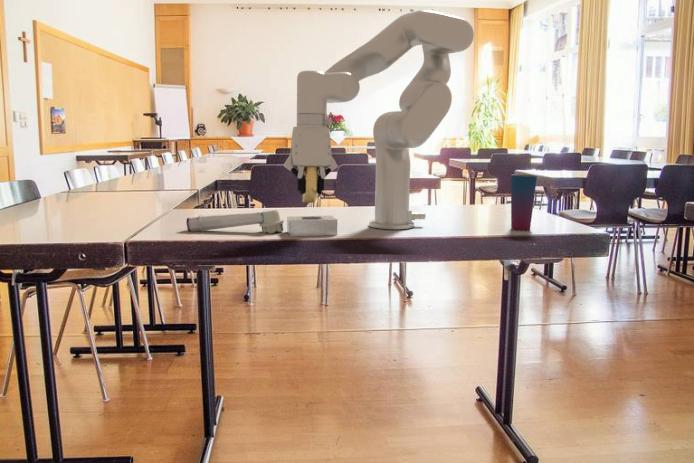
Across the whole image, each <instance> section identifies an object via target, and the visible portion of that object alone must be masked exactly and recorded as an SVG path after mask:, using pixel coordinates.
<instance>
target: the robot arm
mask: <svg viewBox="0 0 694 463" xmlns="http://www.w3.org/2000/svg"><path fill="white" fill-rule="evenodd" d="M474 38H475V33H474V29H473V27H472V25H471V23H470V22H468V20H466V19H465V18H461V17H459V16H455V15H451V14H445V13H443V12H438V11H433V10H430V9H427V10H426V9H421V10H420V9H419V10H416V11H412V12H408V13H404V14H402V15H400V16H399V17H396V19H394V20H393V21H391V23H389V25H387V26H386V27H384V28H383V30H381V31H380V32H378V34H376V35H375V36H373V37H372V38H370V40H368V41H367V42H365V43H364V44H363V45H361V46H359V47H358V48H356V49H355V50H354V51H352V52H351V53H349V54H348V55H346V56H345V57H343V58H341V59H340V60H338V61H337V62H336V63H334V64H333V65H332V66H330V67H329V68H328V69H327V70H326V71H320V70H302V71H300V72H298V74H297V78H296V126H293V128H292V132H291V139H290V140H291V141H290V153H289V156H288V157H287V159H286V160H285V162H284V163H283V167H284V168H285V169H287V170H288V171H290V172H291V173H292V174H293V175H294V176H295V177H296V178H297V180H296V184H297V186H296V188H297V189H296V191H298V192H299V194H300V195H303V194H304V179H303V170H304V167H319V179H318V195H322V194H323V193H322V192H323V191H324V190H325V179H326V178H327V176H328V175H329V174H331V172H333V171H334V170H336V169H337V168H338V167H339V165H338V163H337V162H336V160H335V159H334V157H333V155H332V144H331V133H330V128H329V127H327V125H328V124H332V123H333V118H332V117H330V116H328V115H327V110H328V109H327V108H328V106H327V105H328V104H334V103H348V102H350V101H352V100H354V99H355V98H356V97H357V96H358V95H359V92H360V89H361V88H360V81H362V80H363V79H366V78H369V77H371V76H375V75H378V74H379V73H381V72H385V70H387V69H389V68H390V67H391V66H393V65H394V64H395V63H396V62H397V61H398V60H399V59H400V58H401V57H403V56H404V55H405V54H406V53H408V52H409V51H410V50H412V49H413V48H414V47H416V46H421V47H422V52H423V62H422V64H421V65H422V66H421V67H420V69H419V70H418V72H417V73H416V74H415V76H413V78H412V79H411V81H410V82H409V83H408V84H407V85H406V87H405V88H404V90H403V91H402V92H401V94H400V97H399V100H398V105H399V106H398V107H399V109H400V110H399V111H398V110H396V111H387V112H385V113H383V114H381V115H379V116H378V117H377V119H376V120H375V121H374V124H373V128H372V132H373V133H372V136H373V142H374V148H375V183H374V184H375V185H374V187H375V188H374V192H375V194H374V219H372V220H369V222H368V224H369V226H370V227H371V228H374V229H381V230H409V229H412V228H414V227H415V222H414V221H415V220H426V213H425V212H415V211H413V210H411V209H410V186H411V181H410V180H411V158H410V154H409V153H410V152H409V149H415V148H418V147H421V146H422V145H424V144H425V143H426V142H427V141H428V140H429V138H430V137H431V136H432V135H433V133H434V132H435V130H437V128H438V127H439V125H440V124H441V122H442V121H444V120H443V119H444V118H445V117H446V116H447V114H448V113H449V111H450V108H451V105H452V101H453V96H452V92H451V89H450V87H449V86H448V82H449V81H450V78H451V74H452V71H451V62H450V57H449V54H453V53H454V54H455V53H459V52H464V51H466V50H467V49H468V48H470V47H471V45H472V43H473V41H474ZM291 164H292V165H293V166H292V165H291ZM294 166H297V168H295V167H294ZM325 167H326V168H325Z"/></svg>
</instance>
